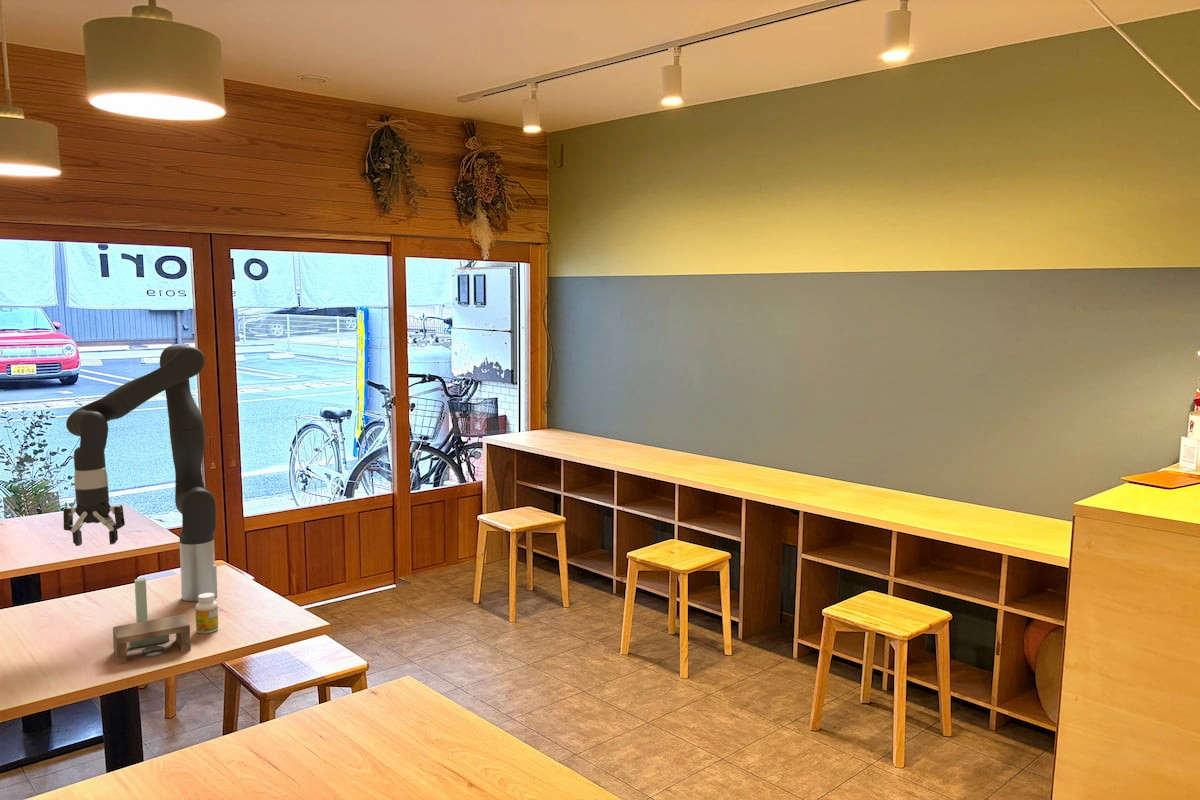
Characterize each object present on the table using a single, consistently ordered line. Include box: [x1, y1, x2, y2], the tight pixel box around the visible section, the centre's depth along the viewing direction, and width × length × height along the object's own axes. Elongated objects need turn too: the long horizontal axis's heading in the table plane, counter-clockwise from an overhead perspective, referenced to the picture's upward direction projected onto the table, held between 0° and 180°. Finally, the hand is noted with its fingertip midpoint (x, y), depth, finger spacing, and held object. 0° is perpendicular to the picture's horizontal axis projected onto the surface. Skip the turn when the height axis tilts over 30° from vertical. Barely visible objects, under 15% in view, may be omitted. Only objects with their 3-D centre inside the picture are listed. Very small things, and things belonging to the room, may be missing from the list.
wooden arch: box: [112, 614, 192, 665], centre depth 208 cm, size 16×9×6 cm, turn 125°
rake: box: [128, 577, 170, 649], centre depth 218 cm, size 9×16×13 cm, turn 35°
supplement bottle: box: [195, 593, 219, 634], centre depth 222 cm, size 5×5×10 cm
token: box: [141, 645, 166, 658], centre depth 207 cm, size 5×5×1 cm
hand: (95, 544), depth 222 cm, fingers open, 8 cm apart
